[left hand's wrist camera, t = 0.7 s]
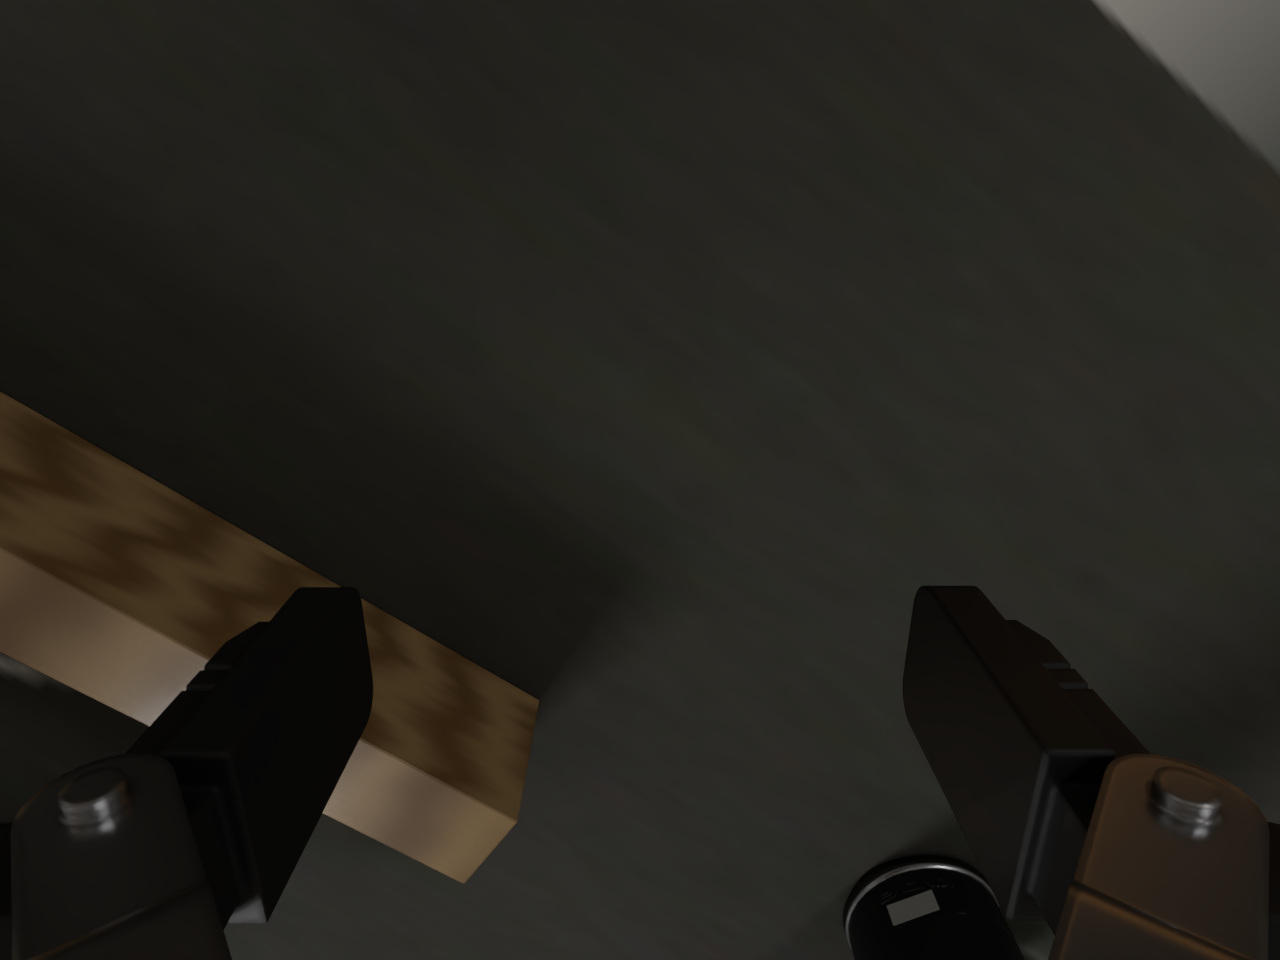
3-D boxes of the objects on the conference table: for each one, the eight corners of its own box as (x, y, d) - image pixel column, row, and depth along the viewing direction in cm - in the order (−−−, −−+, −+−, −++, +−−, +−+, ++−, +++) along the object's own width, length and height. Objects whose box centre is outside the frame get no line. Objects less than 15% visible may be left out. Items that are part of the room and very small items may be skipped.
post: (540, 699, 43) (517, 822, 35) (495, 754, 45) (464, 885, 36) (-525, 89, 32) (-921, 61, 24) (-541, 188, 33) (-921, 193, 25)
